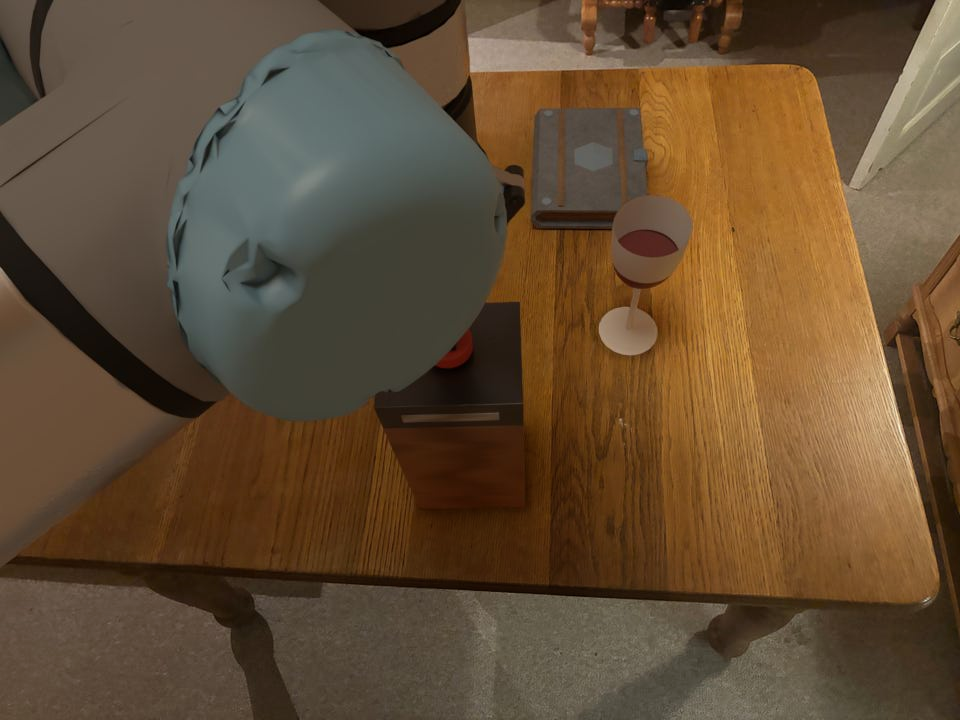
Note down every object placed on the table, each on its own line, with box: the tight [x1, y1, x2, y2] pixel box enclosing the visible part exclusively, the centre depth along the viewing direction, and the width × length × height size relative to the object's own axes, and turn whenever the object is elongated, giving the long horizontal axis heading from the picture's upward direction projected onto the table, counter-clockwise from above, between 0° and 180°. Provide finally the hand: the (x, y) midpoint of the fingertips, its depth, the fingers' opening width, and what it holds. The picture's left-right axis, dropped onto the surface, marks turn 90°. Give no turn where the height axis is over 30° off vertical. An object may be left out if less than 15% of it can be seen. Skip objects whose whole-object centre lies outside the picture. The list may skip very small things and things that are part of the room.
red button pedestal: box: [373, 301, 526, 510], centre depth 66 cm, size 12×10×26 cm
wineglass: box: [598, 194, 694, 356], centre depth 77 cm, size 8×9×20 cm
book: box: [530, 107, 649, 230], centre depth 98 cm, size 21×16×5 cm
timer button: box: [435, 329, 473, 368], centre depth 54 cm, size 4×4×1 cm
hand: (447, 336), depth 53 cm, fingers closed
